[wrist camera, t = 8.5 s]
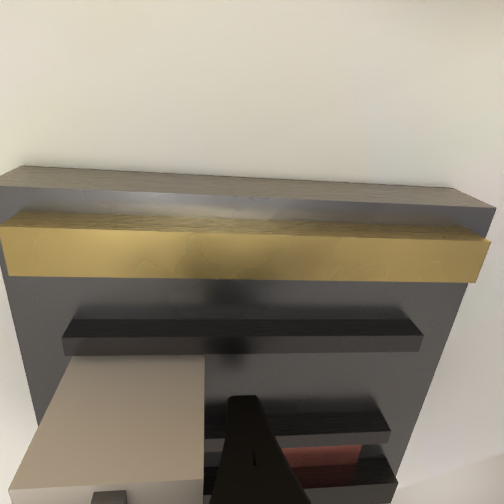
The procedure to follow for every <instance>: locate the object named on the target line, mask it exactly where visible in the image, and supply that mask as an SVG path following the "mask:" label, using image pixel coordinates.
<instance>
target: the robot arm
mask: <svg viewBox="0 0 504 504" xmlns="http://www.w3.org/2000/svg"><path fill="white" fill-rule="evenodd" d="M209 504H312V503H311V501H310V500H309V498H308V496H307V495H306V493H305V491H304V490H303V488H302V486H301V485H300V483H299V481H298V479H297V478H296V476H295V474H294V472H293V470H292V468H291V467H290V465H289V463H288V461H287V459H286V457H285V455H284V453H283V452H282V450H281V448H280V446H279V444H278V442H277V439H276V437H275V435H274V433H273V431H272V429H271V427H270V424H269V422H268V420H267V417H266V415H265V413H264V410H263V407H262V405H261V402H260V399H259V398H258V397H257V396H256V395H237V396H231V397H229V398H228V399H227V414H226V428H225V440H224V446H223V450H222V455H221V460H220V464H219V469H218V473H217V477H216V481H215V484H214V488H213V491H212V495H211V498H210V502H209Z"/></svg>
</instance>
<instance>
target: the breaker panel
mask: <svg viewBox="0 0 504 504" xmlns="http://www.w3.org/2000/svg"><path fill="white" fill-rule="evenodd" d="M495 211H496V207H493V206H491V205H489V204H487V203H484V202H482V201H480V200H478V199H476V198H473V197H471V196H469V195H467V194H464V193H462V192H460V191H458V190H456V189H453V188H438V187H419V186H399V185H380V184H361V183H342V182H322V181H303V180H284V179H265V178H245V177H226V176H207V175H187V174H168V173H149V172H130V171H110V170H91V169H72V168H53V167H33V166H20V167H18V168H16V169H14V170H11V171H9V172H7V173H5V174H3V175H1V176H0V266H1V271H2V275H3V279H4V283H5V288H6V292H7V296H8V300H9V305H10V309H11V313H12V317H13V322H14V326H15V330H16V334H17V338H18V343H19V347H20V351H21V355H22V360H23V364H24V368H25V372H26V377H27V381H28V385H29V389H30V394H31V398H32V402H33V406H34V410H35V415H36V419H37V423H38V427H39V425H40V423H41V421H42V419H43V416H44V414H45V412H46V410H47V408H48V406H49V404H50V402H51V400H52V398H53V396H54V394H55V392H56V390H57V387H58V385H59V383H60V381H61V379H62V377H63V375H64V373H65V371H66V369H67V367H68V365H69V363H70V361H71V359H72V356H120V355H200V354H205V375H204V480H203V504H209V502H210V498H211V495H212V491H213V488H214V484H215V481H216V477H217V473H218V469H219V464H220V460H221V455H222V450H223V446H224V440H225V428H226V414H227V399H228V398H229V397H231V396H237V395H256V396H257V397H258V398H259V399H260V402H261V405H262V407H263V410H264V413H265V415H266V417H267V420H268V422H269V424H270V427H271V429H272V431H273V433H274V435H275V437H276V439H277V442H278V444H279V446H280V448H281V450H282V452H283V453H284V455H285V457H286V459H287V461H288V463H289V465H290V467H291V468H292V470H293V472H294V474H295V476H296V478H297V479H298V481H299V483H300V485H301V486H302V488H303V490H304V491H305V493H306V495H307V496H308V498H309V500H310V501H311V503H312V504H388V503H391V501H392V498H393V495H394V493H395V490H396V488H397V485H398V481H397V479H396V474H397V472H398V469H399V466H400V464H401V461H402V458H403V456H404V453H405V450H406V448H407V445H408V442H409V440H410V437H411V434H412V432H413V429H414V426H415V424H416V421H417V418H418V416H419V413H420V410H421V408H422V405H423V402H424V400H425V397H426V394H427V392H428V389H429V386H430V384H431V381H432V378H433V376H434V373H435V370H436V368H437V365H438V362H439V360H440V357H441V355H442V352H443V349H444V347H445V344H446V341H447V339H448V336H449V333H450V331H451V328H452V325H453V323H454V320H455V317H456V315H457V312H458V309H459V307H460V304H461V301H462V299H463V296H464V293H465V291H466V288H467V285H468V283H476V280H477V277H478V275H479V272H480V270H481V267H482V264H483V262H484V259H485V257H486V254H487V251H488V249H489V246H490V244H491V241H489V240H487V239H485V238H486V235H487V232H488V230H489V227H490V224H491V222H492V219H493V216H494V214H495Z"/></svg>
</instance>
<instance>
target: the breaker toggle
mask: <svg viewBox="0 0 504 504" xmlns="http://www.w3.org/2000/svg"><path fill="white" fill-rule="evenodd" d="M204 375H205V354H200V355H120V356H72V359H71V361H70V363H69V365H68V367H67V369H66V371H65V373H64V375H63V377H62V379H61V381H60V383H59V385H58V387H57V390H56V392H55V394H54V396H53V398H52V400H51V402H50V404H49V406H48V408H47V410H46V412H45V414H44V416H43V419H42V421H41V423H40V425H39V427H38V429H37V431H36V433H35V435H34V437H33V439H32V441H31V443H30V445H29V447H28V450H27V452H26V454H25V456H24V458H23V460H22V462H21V464H20V466H19V468H18V470H17V472H16V474H15V476H14V479H13V481H12V483H11V485H10V487H9V489H8V492H9V495H10V498H11V501H12V504H203V480H204Z"/></svg>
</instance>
